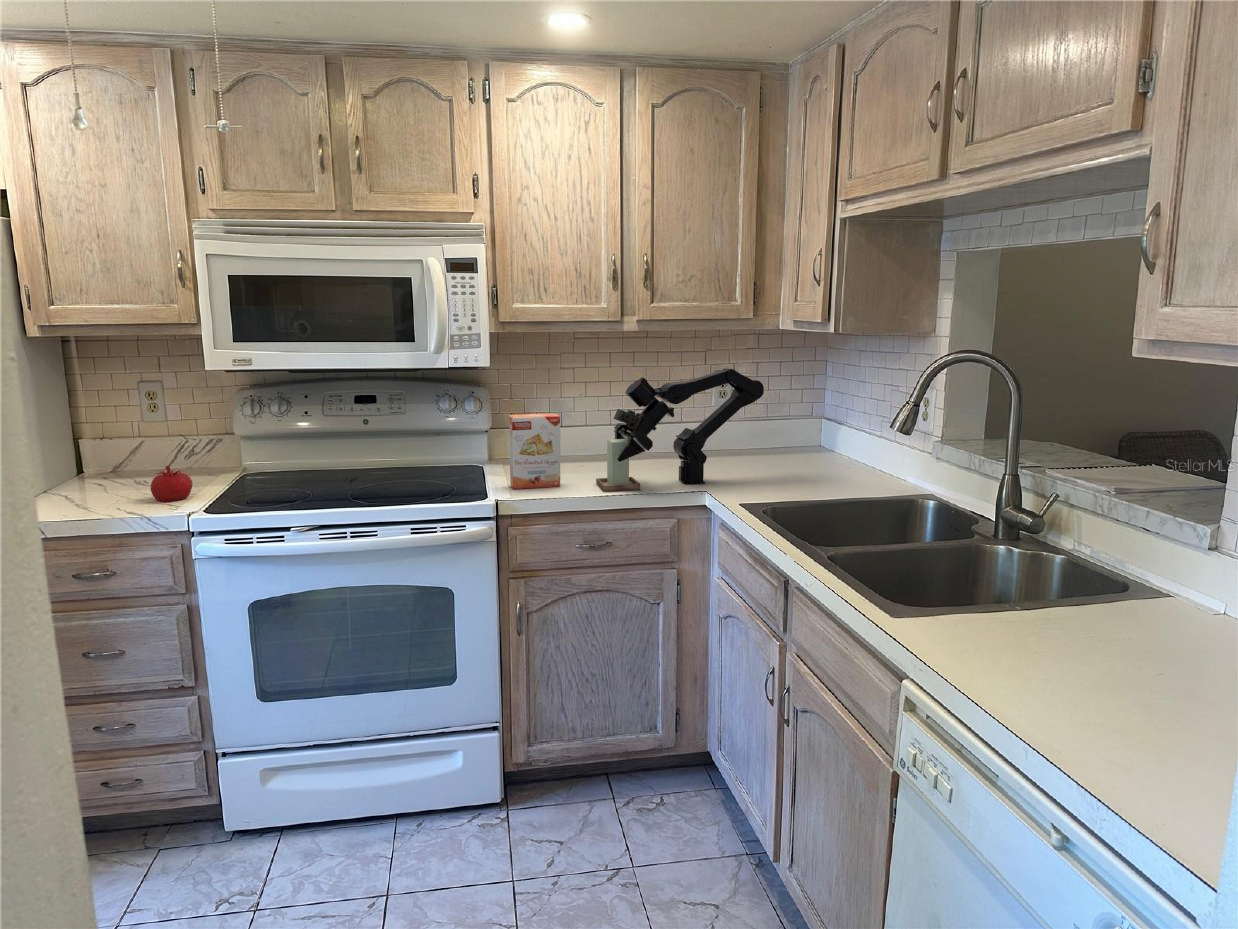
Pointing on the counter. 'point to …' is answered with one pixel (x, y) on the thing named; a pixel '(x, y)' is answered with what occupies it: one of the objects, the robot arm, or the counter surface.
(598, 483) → the walnut tray
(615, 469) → the sage wooden block
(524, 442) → the cracker box
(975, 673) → the counter surface
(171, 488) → the red tomato
